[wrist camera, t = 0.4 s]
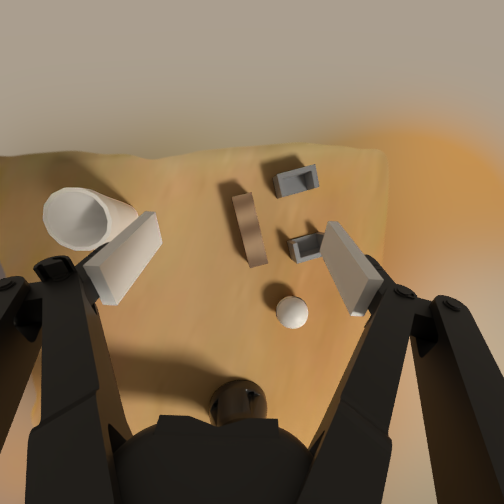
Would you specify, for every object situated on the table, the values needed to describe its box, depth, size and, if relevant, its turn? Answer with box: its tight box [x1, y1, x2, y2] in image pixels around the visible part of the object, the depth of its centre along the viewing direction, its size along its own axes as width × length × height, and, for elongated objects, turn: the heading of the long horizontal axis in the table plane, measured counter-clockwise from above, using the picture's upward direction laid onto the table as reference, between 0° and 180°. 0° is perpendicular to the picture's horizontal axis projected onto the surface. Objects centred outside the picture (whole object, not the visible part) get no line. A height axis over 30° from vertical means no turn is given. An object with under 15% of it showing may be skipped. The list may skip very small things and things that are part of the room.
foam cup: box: [43, 187, 139, 251], centre depth 36 cm, size 10×9×13 cm
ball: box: [276, 296, 308, 329], centre depth 47 cm, size 10×7×7 cm
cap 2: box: [287, 232, 325, 264], centre depth 46 cm, size 4×8×4 cm, turn 105°
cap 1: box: [272, 164, 319, 198], centre depth 43 cm, size 4×8×4 cm, turn 105°
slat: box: [232, 192, 268, 268], centre depth 44 cm, size 15×4×5 cm, turn 14°
